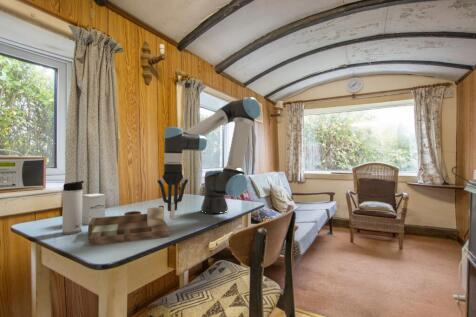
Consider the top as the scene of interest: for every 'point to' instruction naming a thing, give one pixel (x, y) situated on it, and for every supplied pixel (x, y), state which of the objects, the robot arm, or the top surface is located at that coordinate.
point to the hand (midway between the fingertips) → (172, 218)
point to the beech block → (155, 216)
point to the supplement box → (92, 207)
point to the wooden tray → (123, 229)
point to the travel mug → (72, 208)
